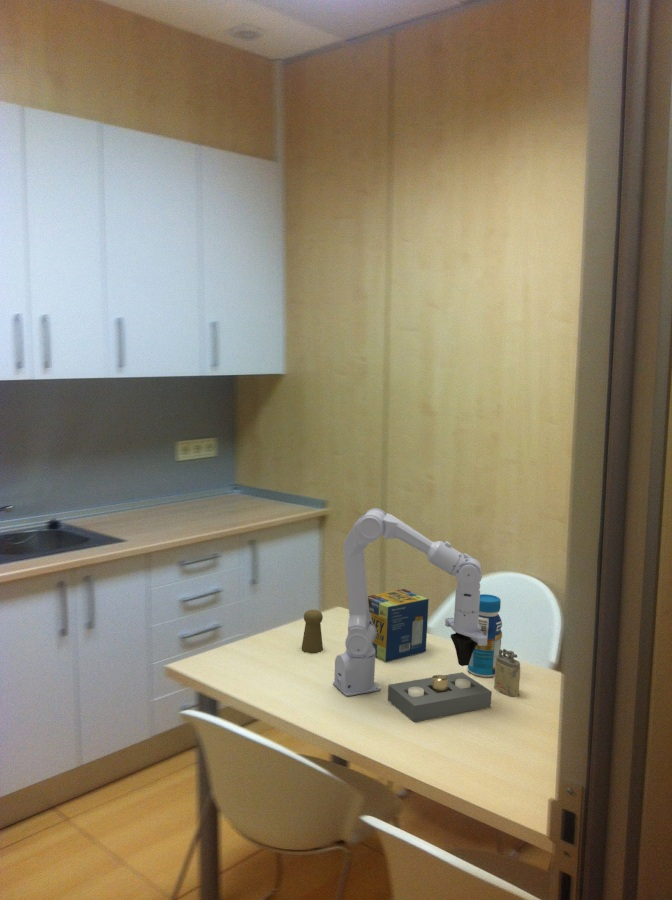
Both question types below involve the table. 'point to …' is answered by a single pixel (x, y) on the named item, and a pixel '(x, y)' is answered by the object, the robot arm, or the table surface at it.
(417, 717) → the grey slotted block
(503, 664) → the lighter
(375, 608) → the protein box
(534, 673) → the table surface
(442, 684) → the brass knob
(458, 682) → the far knob
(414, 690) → the near knob
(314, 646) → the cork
